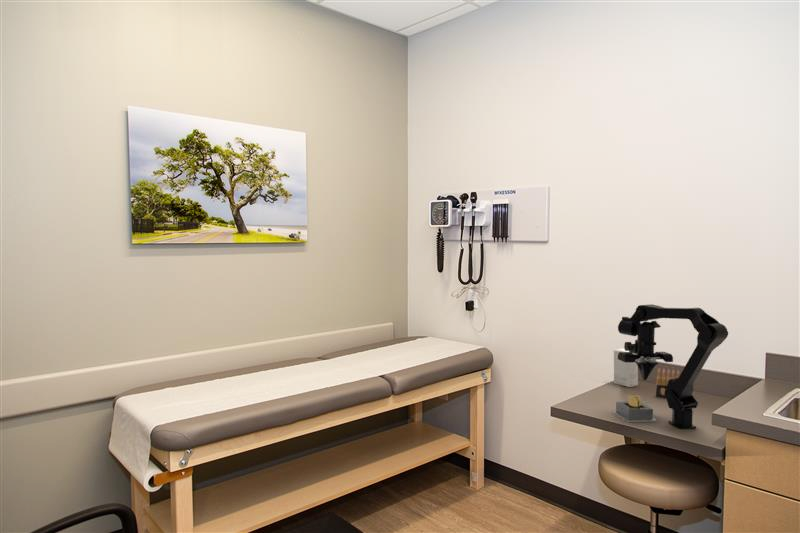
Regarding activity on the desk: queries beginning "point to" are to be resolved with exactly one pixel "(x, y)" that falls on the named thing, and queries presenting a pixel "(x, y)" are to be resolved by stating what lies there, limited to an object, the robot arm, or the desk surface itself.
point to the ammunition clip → (664, 381)
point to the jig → (634, 413)
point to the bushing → (634, 401)
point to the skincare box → (625, 371)
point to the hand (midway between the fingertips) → (644, 379)
